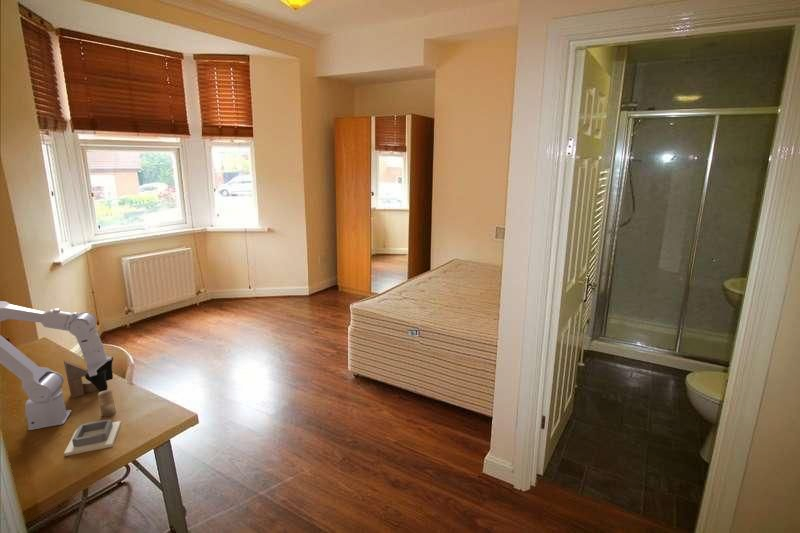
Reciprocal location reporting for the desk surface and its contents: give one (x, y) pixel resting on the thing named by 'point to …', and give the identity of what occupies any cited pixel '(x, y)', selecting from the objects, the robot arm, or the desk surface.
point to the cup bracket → (93, 436)
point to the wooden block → (77, 379)
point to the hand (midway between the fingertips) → (106, 384)
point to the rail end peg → (107, 403)
